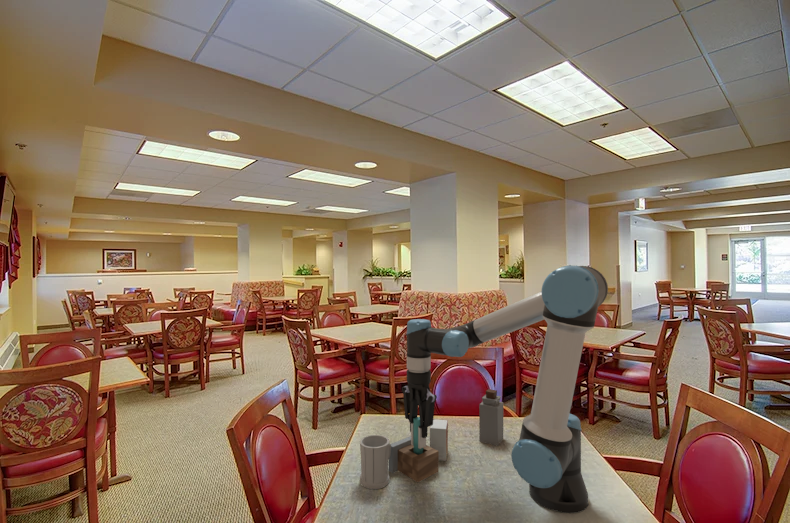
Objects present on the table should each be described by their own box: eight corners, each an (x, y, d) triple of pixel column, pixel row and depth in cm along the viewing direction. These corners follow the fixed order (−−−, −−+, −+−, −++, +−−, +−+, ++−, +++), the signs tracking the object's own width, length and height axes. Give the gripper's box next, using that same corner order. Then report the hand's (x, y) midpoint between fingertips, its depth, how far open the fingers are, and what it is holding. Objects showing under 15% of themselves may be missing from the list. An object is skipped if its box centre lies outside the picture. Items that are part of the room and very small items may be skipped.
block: (438, 472, 121) (438, 450, 122) (417, 482, 116) (417, 460, 116) (418, 461, 128) (418, 441, 128) (397, 470, 122) (397, 449, 122)
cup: (362, 470, 122) (362, 432, 123) (391, 471, 122) (391, 432, 122) (357, 489, 112) (357, 447, 112) (389, 490, 112) (389, 448, 112)
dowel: (425, 457, 122) (425, 419, 122) (418, 461, 120) (418, 421, 120) (418, 454, 124) (418, 416, 124) (411, 457, 122) (411, 418, 122)
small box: (446, 461, 128) (446, 429, 128) (429, 459, 129) (429, 427, 129) (448, 450, 136) (448, 419, 136) (432, 448, 137) (432, 418, 137)
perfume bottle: (503, 438, 145) (503, 390, 145) (497, 445, 139) (497, 395, 140) (485, 434, 149) (485, 387, 149) (479, 441, 143) (479, 391, 143)
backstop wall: (422, 459, 130) (422, 435, 130) (392, 473, 121) (392, 447, 121) (418, 457, 131) (418, 433, 131) (388, 470, 122) (388, 444, 123)
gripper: (445, 372, 119) (445, 450, 118) (410, 362, 130) (410, 433, 130) (428, 377, 114) (428, 458, 113) (393, 366, 125) (393, 440, 125)
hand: (418, 445), depth 122 cm, fingers closed on dowel, 2 cm apart
